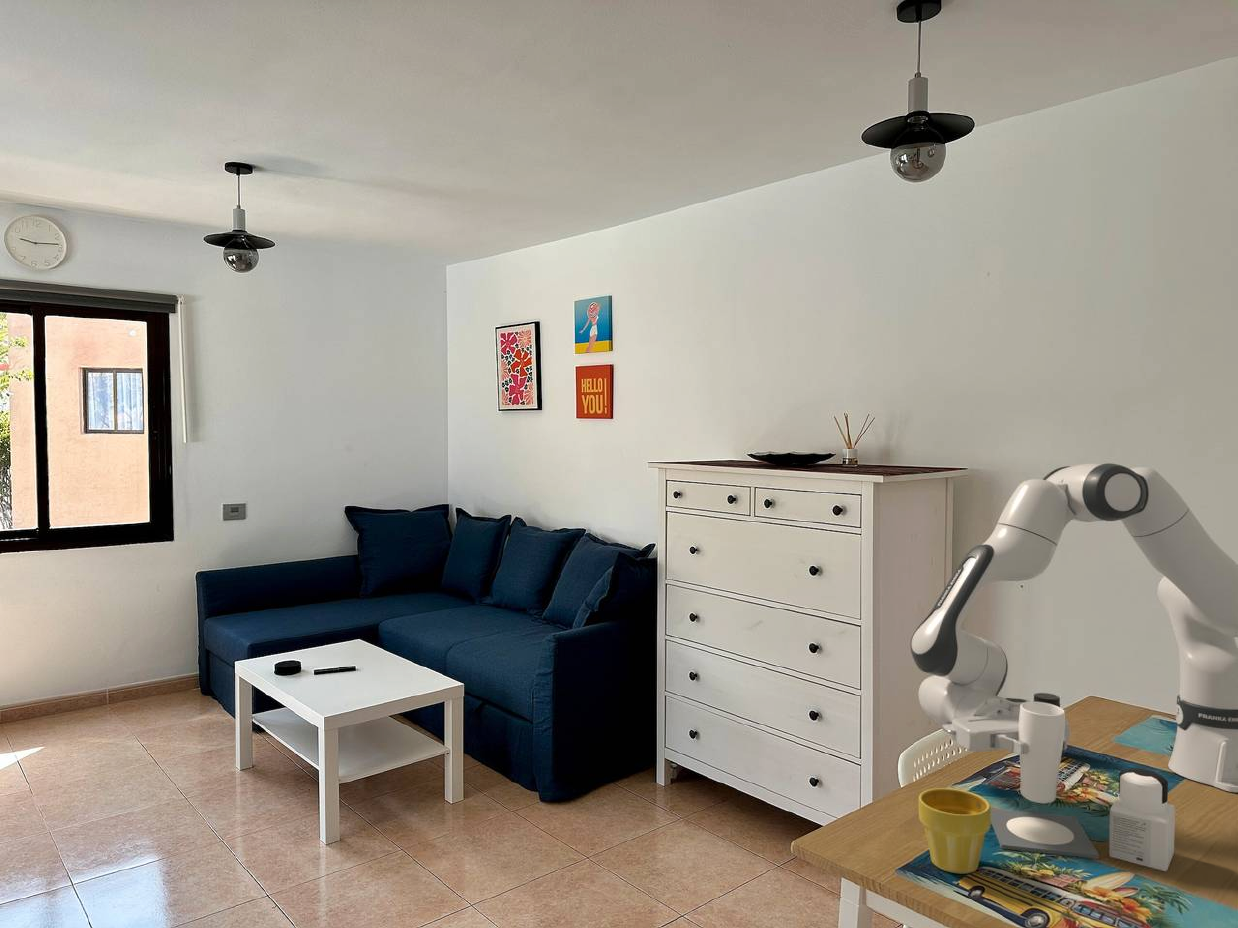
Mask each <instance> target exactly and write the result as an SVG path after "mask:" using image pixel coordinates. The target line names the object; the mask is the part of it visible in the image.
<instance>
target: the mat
mask: <svg viewBox="0 0 1238 928" xmlns="http://www.w3.org/2000/svg"><path fill="white" fill-rule="evenodd" d="M990 824H991V825H992V828H993V830H994V833H995V835H996V838H997V841H998V843H999V845H1000V848H1001V849H1002V850H1005V849H1006V850H1012V851H1013V850H1014V851H1020V852H1021V851H1022V852H1030V853H1040V854H1049V855H1059V856H1067V857H1076V856H1078V858H1088V859H1096V860H1099V859H1100V854H1099V853H1098V851H1097V849H1096V848H1095V845H1094V844H1093V843H1092V842H1091V840H1090V839H1089V837H1088V834H1086V832H1085V830H1084V828H1083V827H1082V826H1081V824H1080V822H1079V821H1078V819H1077V816H1069V815H1060V814H1050V813H1039V812H1028V811H1017V810H1009V809H1000V808H999V809H997V808H991V823H990Z"/></svg>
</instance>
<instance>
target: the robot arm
mask: <svg viewBox="0 0 1238 928" xmlns="http://www.w3.org/2000/svg"><path fill="white" fill-rule="evenodd" d="M1071 521H1078V522H1083V523H1093V522H1103V521H1105V522H1116V521H1121V522H1122V524H1123V526H1124V527H1125V529H1126V530H1127V532H1128V534H1129V535H1130V537H1131V538H1132V539H1133V541H1134V542H1135V543H1136V545H1137V547H1139V549H1140V550H1141V552H1142V553H1143V554H1144V556H1145V558H1146V559H1147V561H1148V562H1149V563H1150V565H1151V566H1152V567H1153V568H1154V569H1155V570H1156V571H1157V572H1159V573H1160V574H1161V575H1162V576H1163V577H1161V579H1160V582H1159V583H1158V587H1157V598H1158V601H1159V604H1160V605H1161V606H1162V608H1163V609H1164V611H1165V612H1166V614H1167V616H1168V619H1169V621H1170V624H1171V628H1172V630H1173V634H1174V638H1175V642H1176V647H1177V652H1178V660H1179V694H1178V695H1177V696H1176V704H1175V720H1176V723H1175V724H1176V725H1177V729H1176V736H1175V741H1174V746H1173V749H1172V753H1171V756H1170V759H1169V761H1168V764H1167V766H1168V768H1169V769H1170V770H1171V771H1172V772H1174V773H1176V774H1177V775H1179V776H1181V777H1184V778H1186V779H1189V780H1191V781H1195V782H1198V783H1201V784H1205V785H1209V786H1212V787H1215V788H1218V789H1220V790H1223V791H1227V792H1229V793H1238V645H1237V642H1236V638H1238V563H1237V562H1235V560H1233V559H1232V558H1231V556H1229V555H1228V554H1227V553H1226V551H1224V550H1223V549H1222V548H1221V547H1220V546H1219V545H1218V544H1217V543H1216V542H1215V541H1214V540H1213V539H1212V537H1210V535H1209V534H1208V533H1207V531H1206V530H1205V528H1204V527H1203V525H1202V523H1200V522H1199V520H1198V518H1197V517H1196V516H1195V514H1194V513H1193V512H1192V510H1191V508H1190V507H1189V506H1188V504H1187V503H1186V502H1185V500H1184V499H1183V498H1182V496H1181V495H1180V494H1179V492H1177V490H1176V489H1175V488H1174V487H1173V486H1172V485H1171V484H1170V483H1169V481H1167V479H1166V478H1164V477H1163V476H1162V475H1161V474H1160V473H1159V472H1157V471H1156V470H1155V469H1153V468H1151V467H1149V466H1148V467H1147V466H1135V467H1131V468H1129V467H1126V466H1124V465H1121V464H1116V463H1111V462H1110V463H1109V462H1107V463H1094V462H1093V463H1091V462H1090V463H1088V462H1087V463H1081V464H1076V465H1072V466H1070V465H1069V466H1061V467H1058V468H1056V469H1053V470H1052V471H1050V472H1048V473H1047V474H1046V475H1045V476H1044V477H1043V478H1041V479H1040V478H1029V479H1028V480H1027V479H1026V480H1023V482H1021V483H1019V484H1018V486H1017V487H1016V489H1015V490H1014V491H1013V493H1012V494H1011V496H1010V498H1009V499H1008V501H1007V503H1006V504H1005V506H1004V508H1003V510H1002V512H1001V514H1000V517H999V519H998V521H997V523H996V526H995V527H994V530H993V531H992V533H991V535H990V536H989V537H988V538H987V539H986V540H985V542H983V543H982V544H979V545H975V546H974V547H972V548H971V549H970V550H969V551H968V553H966V554H965V556H964V558H963V559H962V560H961V561H960V563H959V564H958V566H957V568H956V569H955V571H954V572H953V575H952V576H951V578H950V579H949V581H947V584H946V586H945V587H944V589H943V591H942V593H941V594H940V596H939V597H938V599H937V601H936V603H935V604H934V606H933V608H932V609H931V611H930V612H929V613H928V615H927V616H926V617H925V618H924V620H922V622H920V624H919V625H918V626H917V628H916V629H915V631H914V632H913V633H912V636H911V638H910V652H911V656H912V659H913V660H914V663H915V665H916V667H917V668H918V669H919V670H920V671H922V672H923V673H927V674H929V675H930V674H931V675H930V676H928V677H926V678H925V679H924V680H923V681H922V682H921V684H920V686H919V689H918V700H919V704H920V706H921V709H922V710H923V711H924V712H925V714H927V716H928V717H929V718H931V719H932V720H933V721H935V722H937V723H938V724H940V725H941V728H942V731H943V732H945V733H947V734H949V735H951V738H952V740H953V742H955V743H956V744H958V745H959V746H961V747H962V748H963V749H965V750H966V751H969V752H974V753H982V752H983V753H984V752H990V751H999V750H1000V751H1001V750H1003V751H1007V752H1013V753H1014V754H1015V753H1016V754H1017V755H1020V754H1026V753H1028V744H1027V743H1025V742H1023V741H1021V740H1019V712H1020V705H1021V704H1022V703H1025V702H1032V701H1031V700H1029V699H1025V698H1014V697H1013V698H1012V697H1011V698H1010V697H1004V696H999V693H1000V692H1001V690H1002V689H1003V687H1004V686H1005V685H1004V684H1005V682H1006V679H1007V676H1008V670H1009V665H1008V658H1007V656H1006V653H1005V651H1004V649H1002V647H1001V646H1000V645H998V644H995V643H993V642H991V641H990V640H987V639H985V638H983V637H980V636H977V635H975V634H972V633H970V632H968V631H966V630H964V629H962V623H963V620H964V619H965V618H966V616H967V614H968V612H969V611H970V609H971V608H972V606H973V603H974V602H975V601H976V599H977V597H978V596H979V594H980V593H981V591H982V590H983V589H984V588H985V587H986V586H988V585H989V584H992V583H995V582H1022V581H1029V580H1031V579H1034V578H1036V577H1038V576H1039V575H1041V574H1043V573H1044V572H1045V570H1047V568H1048V567H1049V565H1050V564H1051V561H1052V559H1053V557H1054V555H1055V552H1056V550H1057V546H1059V542H1060V540H1061V538H1062V537H1061V536H1062V533H1063V531H1064V529H1065V528H1066V526H1067V524H1069V522H1071ZM1070 735H1071V728H1070V723H1069V721H1068V720H1067V719H1066V718H1065V733H1064V742H1063V748H1062V750H1063V749H1065V750H1067V749H1068V742H1069V741H1070Z"/></svg>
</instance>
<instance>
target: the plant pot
mask: <svg viewBox="0 0 1238 928" xmlns="http://www.w3.org/2000/svg"><path fill="white" fill-rule="evenodd" d="M991 809H992V808H991V805H990V803H989V802H988V800H987V799H985V798H984V797H982V796H980V795H979V794H977V793H974V792H971V791H968V790H964V789H963V790H962V789H958V788H950V787H949V788H948V787H936V788H930V789H926V790H923V791H922V792H921V793H920V794H919V796H918V819H919V821H920V822H921V823H922V824H923V826H924V827H923V828H924V832H925V835H926V840H927V845H928V850H929V855H930V860H931V863H932V864H933V865H934V866H935V867H937V868H939V869H940V870H943V871H946V872H948V873H951V874H952V873H953V874H960V875H961V874H962V875H963V874H971V873H973V872H976V870H977V869H978V868H979V863H980V859H981V853H982V849H983V845H984V841H985V837H986V836H985V835H986V833H988V832H989V831H990V829H991V824H992V823H991Z"/></svg>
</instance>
